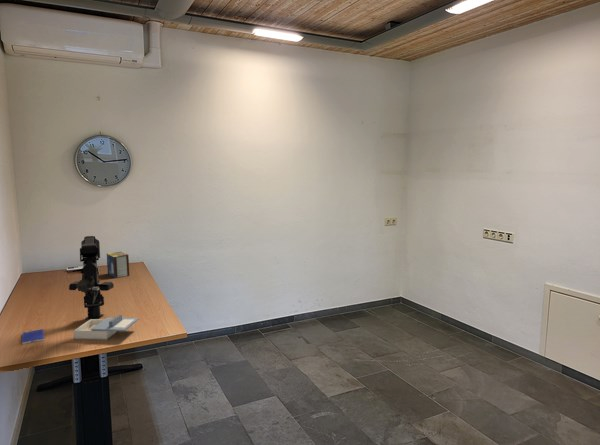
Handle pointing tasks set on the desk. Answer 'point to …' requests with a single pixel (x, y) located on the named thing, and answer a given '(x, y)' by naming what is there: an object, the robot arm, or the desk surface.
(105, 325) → the lid
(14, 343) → the desk surface
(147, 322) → the desk surface
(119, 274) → the protein box
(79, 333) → the box
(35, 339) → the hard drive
